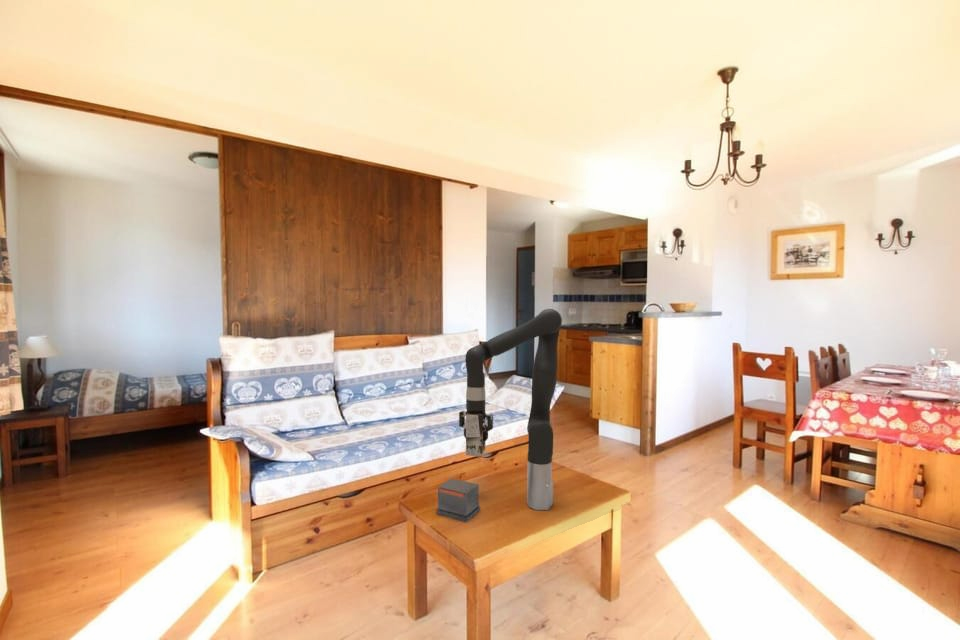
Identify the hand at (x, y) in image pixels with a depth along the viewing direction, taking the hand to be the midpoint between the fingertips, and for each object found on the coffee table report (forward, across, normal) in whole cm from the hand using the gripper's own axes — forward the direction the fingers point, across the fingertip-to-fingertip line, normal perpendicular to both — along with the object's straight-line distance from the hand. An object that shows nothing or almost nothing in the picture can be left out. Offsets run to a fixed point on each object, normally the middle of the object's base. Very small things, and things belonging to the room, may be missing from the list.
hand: (475, 439), depth 176 cm
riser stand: (+24, 0, +13) cm, 27 cm away
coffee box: (+6, 0, 0) cm, 6 cm away
